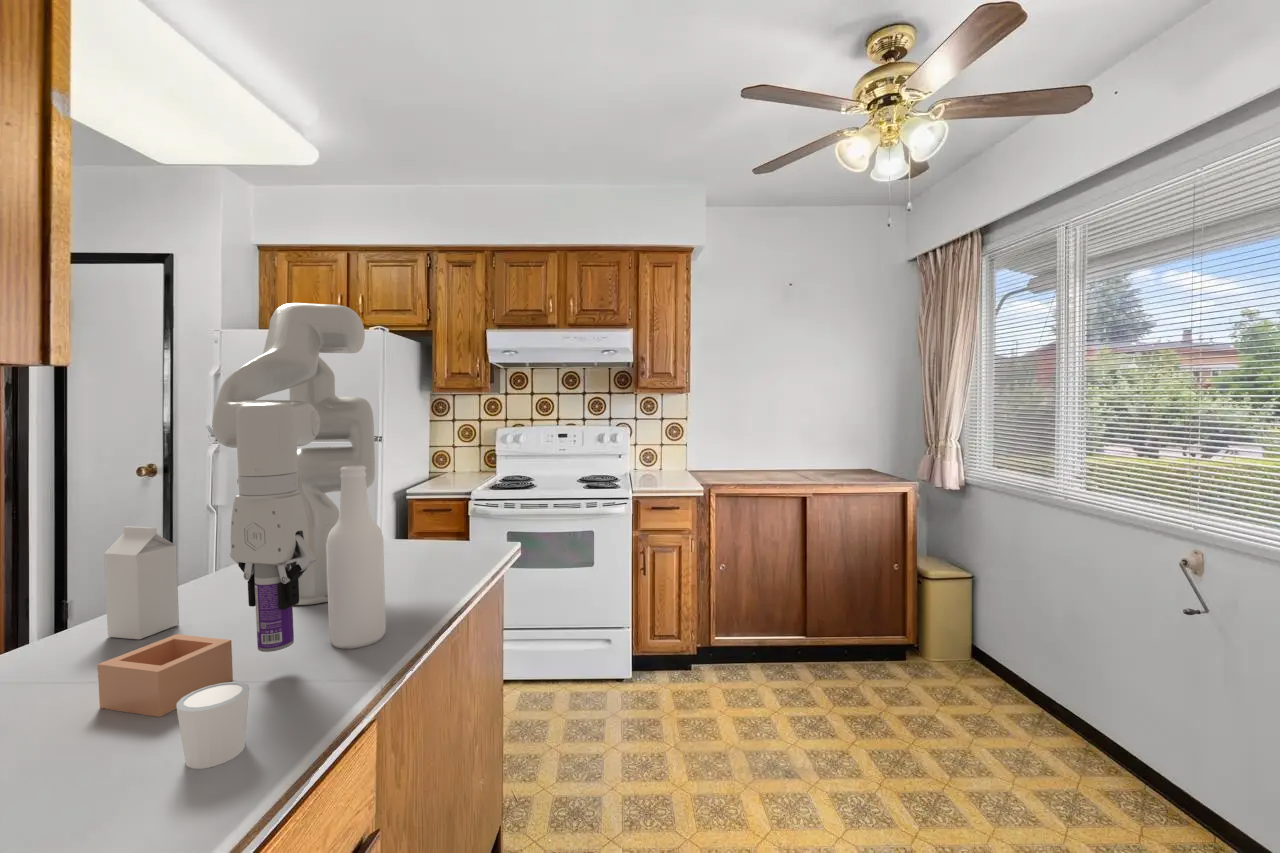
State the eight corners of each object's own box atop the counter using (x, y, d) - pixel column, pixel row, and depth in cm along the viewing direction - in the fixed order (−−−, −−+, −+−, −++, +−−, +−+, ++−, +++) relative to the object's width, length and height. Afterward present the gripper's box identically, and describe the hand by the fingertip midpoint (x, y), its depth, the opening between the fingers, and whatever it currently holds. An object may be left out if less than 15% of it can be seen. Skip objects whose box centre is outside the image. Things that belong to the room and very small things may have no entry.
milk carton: (139, 640, 101) (135, 532, 100) (107, 637, 102) (102, 530, 101) (179, 625, 108) (175, 523, 107) (148, 622, 109) (144, 522, 108)
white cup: (204, 738, 71) (202, 682, 70) (263, 735, 71) (261, 679, 71) (162, 774, 64) (160, 712, 64) (228, 770, 64) (226, 708, 64)
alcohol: (318, 650, 96) (312, 469, 95) (347, 629, 105) (342, 464, 104) (370, 650, 96) (364, 469, 94) (395, 629, 104) (390, 463, 103)
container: (301, 640, 89) (297, 545, 88) (273, 654, 85) (268, 553, 84) (278, 636, 91) (274, 542, 90) (249, 649, 87) (245, 550, 86)
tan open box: (177, 673, 88) (176, 634, 88) (232, 679, 86) (231, 640, 85) (99, 708, 78) (97, 664, 78) (159, 717, 76) (157, 671, 75)
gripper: (199, 487, 85) (205, 609, 86) (296, 492, 81) (301, 619, 82) (245, 479, 92) (250, 592, 93) (336, 483, 88) (340, 600, 89)
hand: (274, 603), depth 88 cm, fingers closed on container, 4 cm apart
